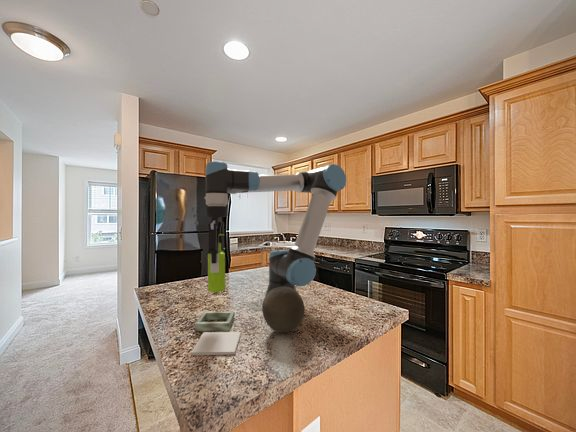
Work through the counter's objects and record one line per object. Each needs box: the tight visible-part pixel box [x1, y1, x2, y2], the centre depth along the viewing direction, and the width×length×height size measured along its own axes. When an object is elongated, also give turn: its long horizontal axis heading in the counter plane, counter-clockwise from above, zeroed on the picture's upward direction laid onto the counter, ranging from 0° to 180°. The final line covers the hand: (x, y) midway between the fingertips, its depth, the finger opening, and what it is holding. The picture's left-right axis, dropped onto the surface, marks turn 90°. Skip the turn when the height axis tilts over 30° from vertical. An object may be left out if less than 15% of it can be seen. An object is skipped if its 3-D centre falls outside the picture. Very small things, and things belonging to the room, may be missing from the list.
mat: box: [190, 331, 242, 356], centre depth 76 cm, size 12×12×1 cm
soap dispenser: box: [207, 233, 226, 293], centre depth 90 cm, size 6×7×20 cm
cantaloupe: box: [261, 286, 306, 334], centre depth 84 cm, size 14×14×15 cm
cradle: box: [194, 311, 235, 332], centre depth 90 cm, size 11×10×2 cm
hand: (217, 270), depth 90 cm, fingers closed on soap dispenser, 6 cm apart
